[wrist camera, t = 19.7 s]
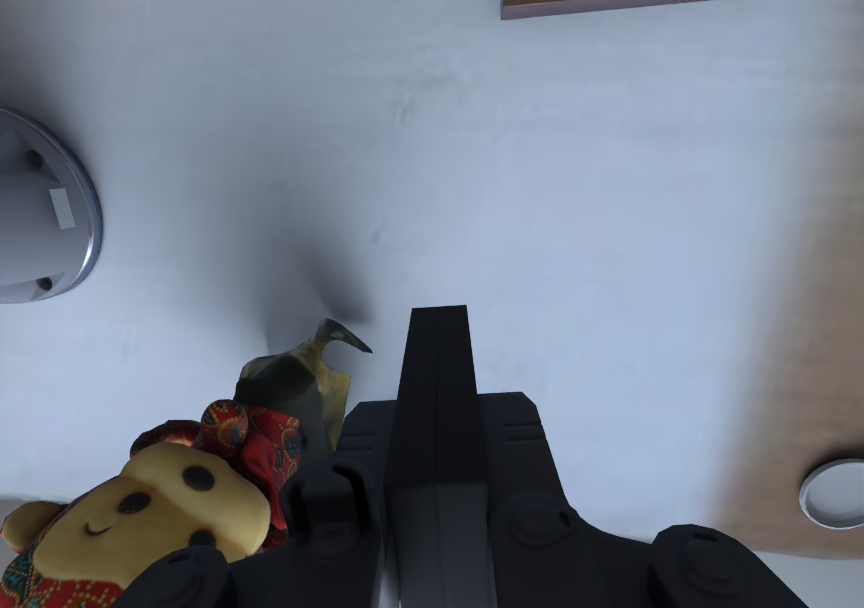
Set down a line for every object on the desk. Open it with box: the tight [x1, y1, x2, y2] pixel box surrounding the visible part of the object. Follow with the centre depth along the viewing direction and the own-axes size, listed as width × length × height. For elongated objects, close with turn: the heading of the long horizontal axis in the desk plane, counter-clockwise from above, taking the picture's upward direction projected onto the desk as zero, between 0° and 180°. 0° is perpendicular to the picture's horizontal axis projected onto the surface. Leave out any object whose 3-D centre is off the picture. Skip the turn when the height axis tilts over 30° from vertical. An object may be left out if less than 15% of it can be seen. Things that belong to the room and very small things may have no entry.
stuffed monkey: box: [0, 318, 373, 608], centre depth 29 cm, size 15×17×25 cm
